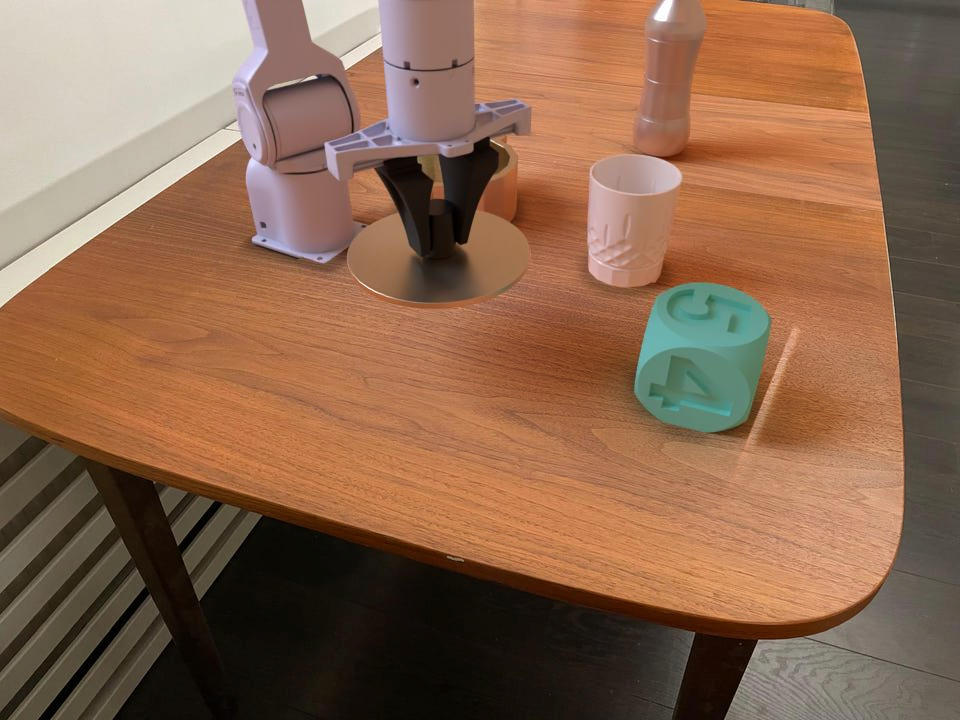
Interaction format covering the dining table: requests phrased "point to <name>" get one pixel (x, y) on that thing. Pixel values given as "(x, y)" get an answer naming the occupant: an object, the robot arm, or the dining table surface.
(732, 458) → the dining table surface
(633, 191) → the white cup
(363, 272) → the lid
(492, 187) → the pot
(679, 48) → the plastic bottle
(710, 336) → the decorative dice
